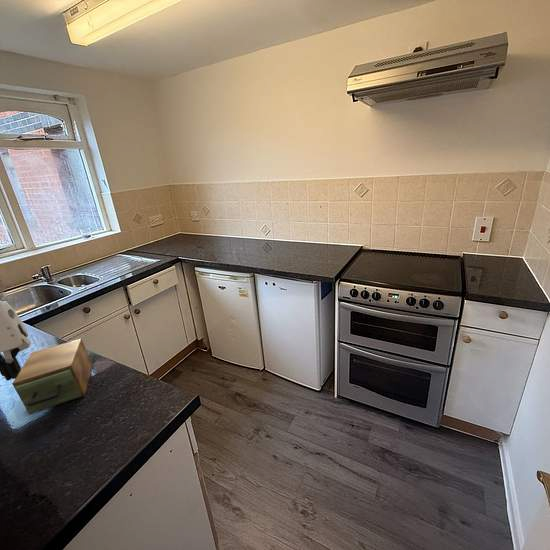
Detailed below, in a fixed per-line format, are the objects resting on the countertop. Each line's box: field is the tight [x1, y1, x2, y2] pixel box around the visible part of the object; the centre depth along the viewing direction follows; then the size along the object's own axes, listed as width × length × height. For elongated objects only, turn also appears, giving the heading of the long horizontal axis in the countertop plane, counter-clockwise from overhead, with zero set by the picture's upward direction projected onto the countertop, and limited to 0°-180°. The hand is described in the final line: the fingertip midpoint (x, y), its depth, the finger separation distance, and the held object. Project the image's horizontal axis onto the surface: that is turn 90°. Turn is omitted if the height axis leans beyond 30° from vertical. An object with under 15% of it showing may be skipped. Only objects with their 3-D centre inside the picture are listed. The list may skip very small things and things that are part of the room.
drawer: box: [14, 369, 82, 415], centre depth 85 cm, size 19×12×9 cm, turn 23°
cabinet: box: [11, 338, 94, 415], centre depth 88 cm, size 16×14×11 cm
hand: (14, 375), depth 67 cm, fingers closed
